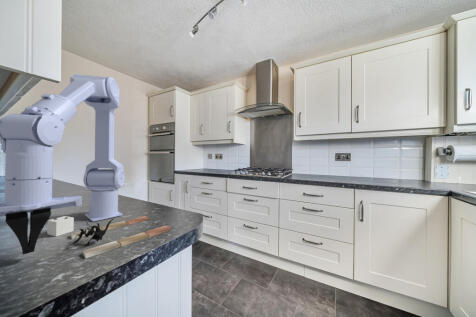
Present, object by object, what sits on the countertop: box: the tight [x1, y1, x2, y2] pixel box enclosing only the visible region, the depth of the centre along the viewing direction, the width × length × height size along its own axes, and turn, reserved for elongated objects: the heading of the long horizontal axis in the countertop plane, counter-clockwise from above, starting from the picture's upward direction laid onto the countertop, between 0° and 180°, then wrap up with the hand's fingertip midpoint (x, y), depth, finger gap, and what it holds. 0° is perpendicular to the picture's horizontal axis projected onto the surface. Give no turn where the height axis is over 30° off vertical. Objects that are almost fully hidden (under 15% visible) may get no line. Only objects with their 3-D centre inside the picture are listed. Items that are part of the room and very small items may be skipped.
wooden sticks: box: [69, 215, 172, 259], centre depth 45 cm, size 15×18×1 cm
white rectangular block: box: [46, 215, 75, 237], centre depth 44 cm, size 4×4×4 cm
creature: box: [66, 218, 115, 248], centre depth 40 cm, size 8×5×8 cm
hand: (28, 251), depth 32 cm, fingers closed
